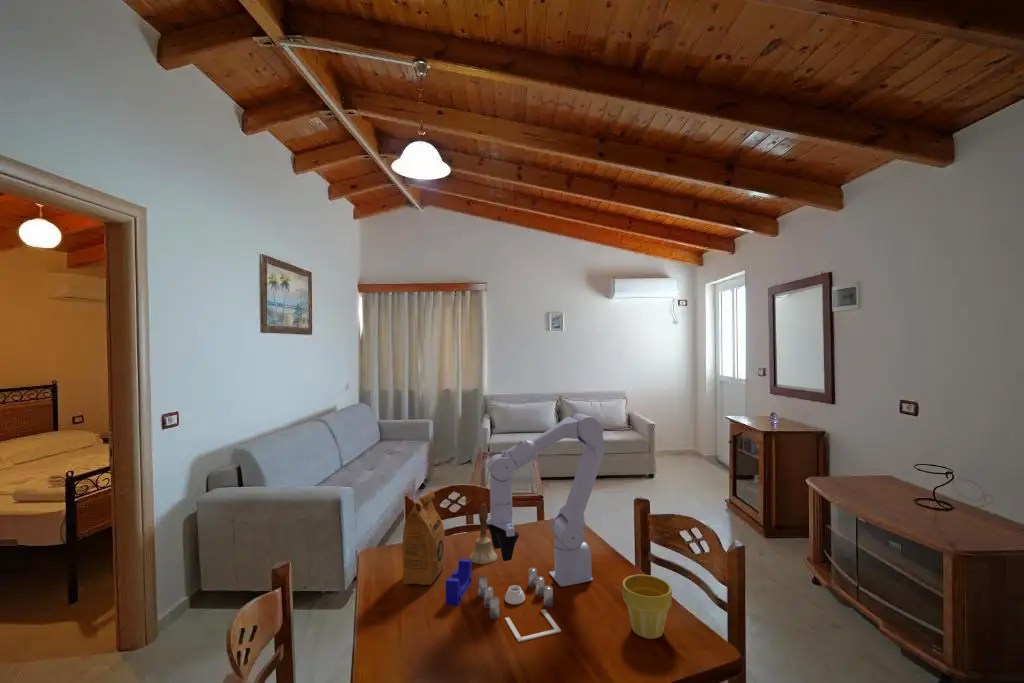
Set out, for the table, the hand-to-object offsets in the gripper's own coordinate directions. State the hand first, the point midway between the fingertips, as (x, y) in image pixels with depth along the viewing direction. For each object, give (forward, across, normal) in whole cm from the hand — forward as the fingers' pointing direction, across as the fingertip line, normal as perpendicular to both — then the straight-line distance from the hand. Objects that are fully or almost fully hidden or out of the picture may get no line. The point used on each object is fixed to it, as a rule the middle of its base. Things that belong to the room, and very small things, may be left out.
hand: (502, 553), depth 123 cm
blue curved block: (+9, -2, -12) cm, 15 cm away
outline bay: (+8, +18, +1) cm, 20 cm away
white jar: (+9, +7, +1) cm, 11 cm away
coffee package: (+8, -13, -18) cm, 24 cm away
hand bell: (+9, -18, 0) cm, 20 cm away
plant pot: (+9, +29, +24) cm, 39 cm away
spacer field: (+8, +7, +1) cm, 11 cm away
